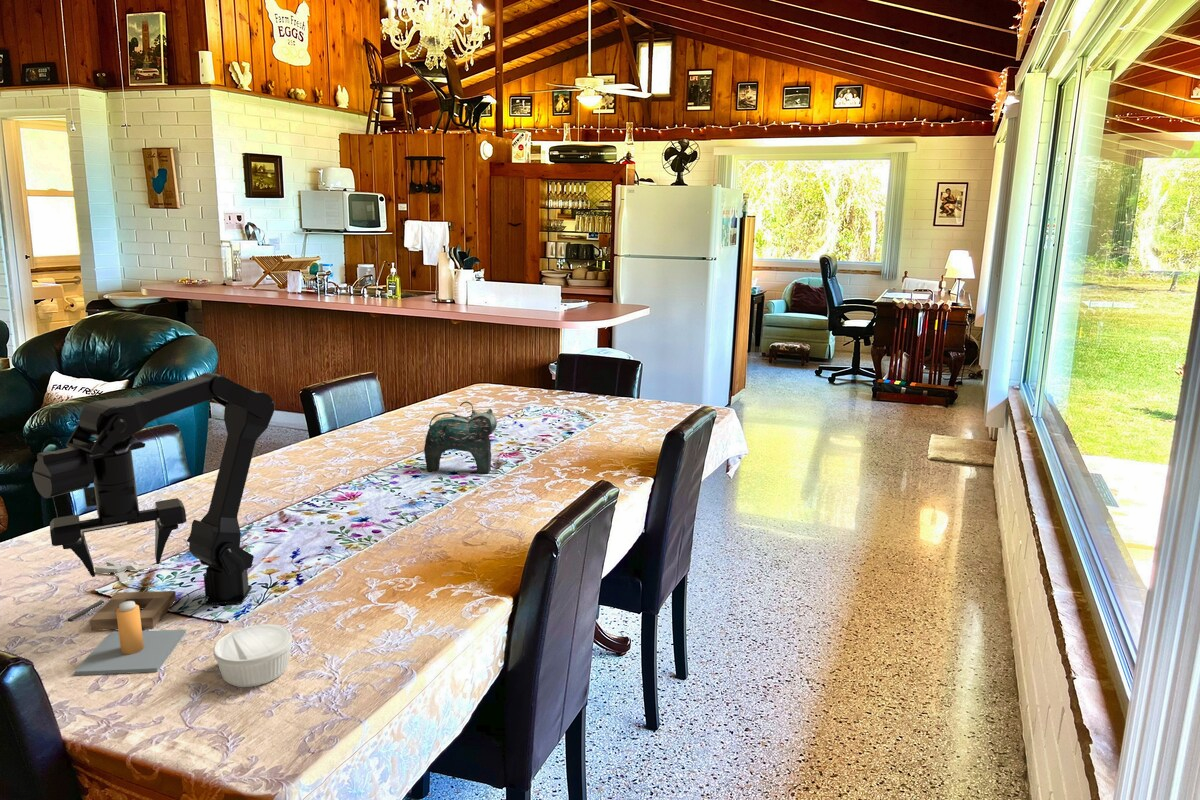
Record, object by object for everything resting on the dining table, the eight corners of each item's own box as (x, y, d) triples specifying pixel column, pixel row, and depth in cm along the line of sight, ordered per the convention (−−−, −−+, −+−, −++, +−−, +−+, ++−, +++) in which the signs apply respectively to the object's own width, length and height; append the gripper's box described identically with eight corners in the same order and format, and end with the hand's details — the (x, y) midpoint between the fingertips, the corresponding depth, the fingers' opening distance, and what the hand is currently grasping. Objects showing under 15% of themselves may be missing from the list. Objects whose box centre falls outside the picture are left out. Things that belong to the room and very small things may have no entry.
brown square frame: (176, 600, 148) (175, 590, 148) (153, 628, 139) (152, 617, 138) (118, 602, 147) (116, 592, 147) (91, 630, 138) (89, 619, 137)
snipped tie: (100, 602, 147) (100, 600, 147) (104, 602, 147) (104, 600, 147) (67, 620, 141) (67, 618, 140) (71, 621, 140) (71, 619, 140)
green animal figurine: (497, 469, 228) (497, 400, 223) (492, 476, 222) (492, 406, 217) (429, 465, 230) (427, 397, 225) (421, 472, 224) (420, 402, 219)
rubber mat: (185, 632, 138) (185, 629, 137) (157, 671, 126) (156, 668, 126) (110, 635, 136) (110, 632, 136) (74, 675, 124) (74, 671, 124)
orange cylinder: (147, 643, 133) (142, 599, 131) (138, 654, 130) (133, 608, 128) (126, 644, 132) (120, 599, 130) (117, 655, 129) (111, 609, 127)
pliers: (144, 584, 152) (80, 573, 156) (145, 592, 152) (81, 581, 156) (183, 563, 161) (121, 553, 165) (184, 570, 162) (122, 560, 165)
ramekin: (199, 682, 124) (196, 651, 122) (254, 647, 134) (252, 618, 133) (257, 699, 120) (254, 667, 119) (309, 661, 130) (307, 631, 129)
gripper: (173, 457, 141) (182, 540, 145) (44, 475, 131) (57, 564, 135) (181, 475, 132) (191, 563, 136) (44, 496, 122) (58, 590, 126)
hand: (126, 569), depth 133 cm, fingers open, 9 cm apart
